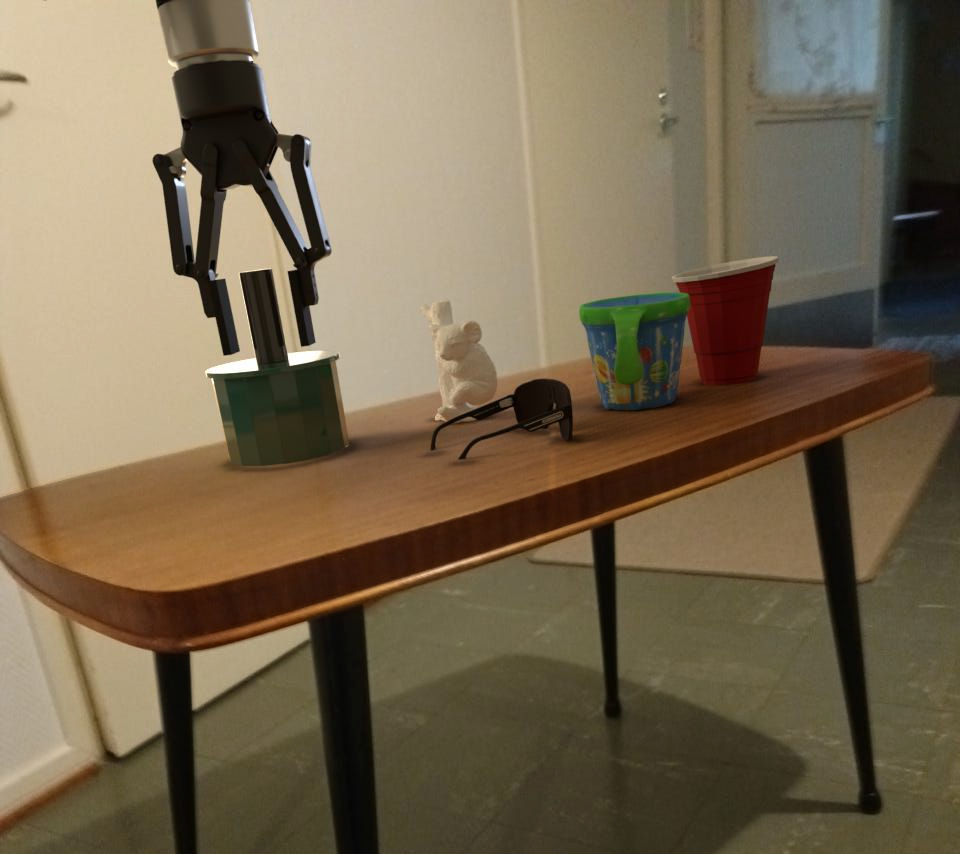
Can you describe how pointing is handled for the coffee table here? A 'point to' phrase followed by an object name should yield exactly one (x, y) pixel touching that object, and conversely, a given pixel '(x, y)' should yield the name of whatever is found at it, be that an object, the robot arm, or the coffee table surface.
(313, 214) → the robot arm
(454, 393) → the koala figurine
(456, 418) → the sunglasses
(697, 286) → the plastic cup
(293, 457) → the tin
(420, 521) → the coffee table surface
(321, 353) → the lid
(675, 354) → the snack cup
